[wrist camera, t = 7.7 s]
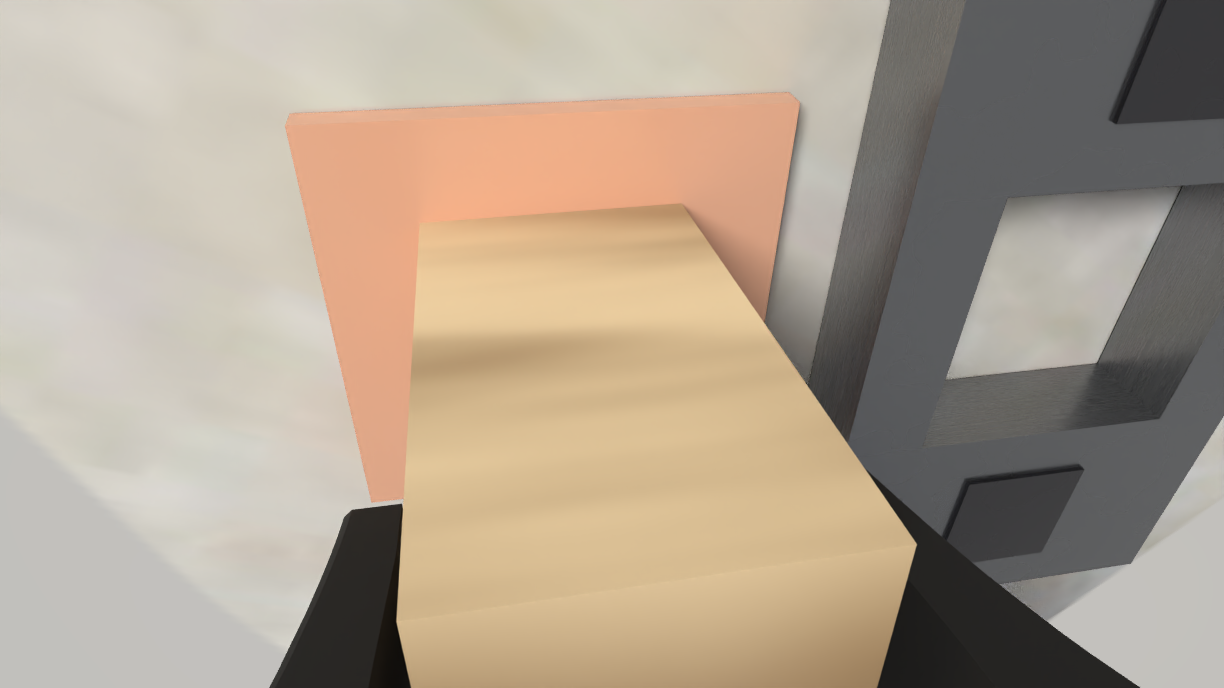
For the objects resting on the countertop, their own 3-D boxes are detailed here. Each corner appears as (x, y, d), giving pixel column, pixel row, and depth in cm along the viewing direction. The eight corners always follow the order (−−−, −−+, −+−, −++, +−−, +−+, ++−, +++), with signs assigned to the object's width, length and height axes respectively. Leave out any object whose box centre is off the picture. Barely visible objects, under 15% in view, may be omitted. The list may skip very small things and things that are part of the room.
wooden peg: (672, 410, 16) (841, 814, 9) (450, 435, 15) (456, 893, 8) (681, 203, 14) (916, 544, 7) (420, 223, 13) (396, 623, 6)
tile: (735, 442, 18) (742, 458, 18) (372, 485, 17) (371, 502, 16) (789, 92, 13) (800, 102, 13) (289, 113, 12) (285, 125, 12)
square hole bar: (1080, 506, 22) (1133, 566, 20) (773, 549, 21) (803, 618, 19) (1449, -185, 13) (1605, -177, 11) (932, -195, 11) (1020, -189, 9)
